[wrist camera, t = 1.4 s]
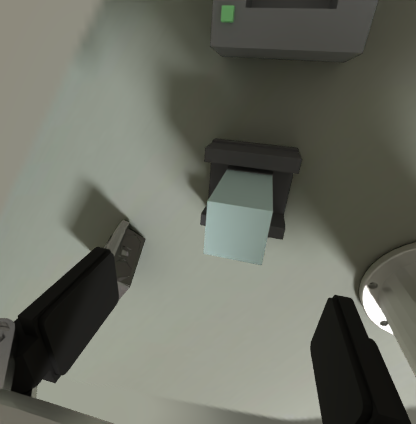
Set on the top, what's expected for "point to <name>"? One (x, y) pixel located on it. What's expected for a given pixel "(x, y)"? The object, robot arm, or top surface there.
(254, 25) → the port
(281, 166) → the dark grey flanged block
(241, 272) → the top surface
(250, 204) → the plug
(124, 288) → the electrical switch
